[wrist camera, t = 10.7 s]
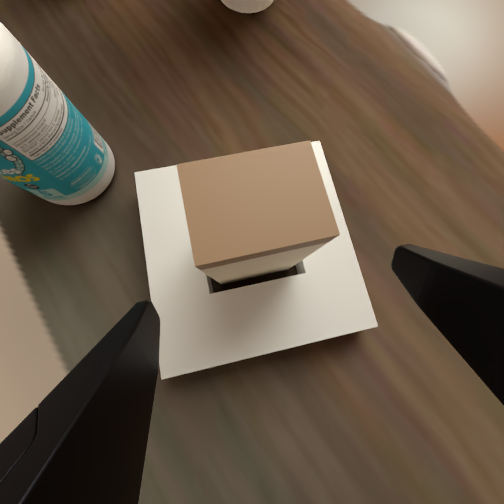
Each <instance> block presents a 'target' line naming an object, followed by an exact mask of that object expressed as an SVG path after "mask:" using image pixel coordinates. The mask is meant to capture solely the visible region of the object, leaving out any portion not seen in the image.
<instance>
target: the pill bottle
mask: <svg viewBox="0 0 504 504" xmlns="http://www.w3.org/2000/svg"><path fill="white" fill-rule="evenodd" d="M114 170H115V160H114V156H113V153H112V151H111V149H110V147H109V146H108V144H107V143H106V142H105V141H104V139H103V138H102V137H101V136H100V135H99V134H98V133H97V131H96V130H95V129H94V128H93V127H92V126H91V124H90V123H89V122H88V121H87V120H86V119H85V118H84V117H83V115H82V114H81V113H80V112H79V111H78V110H77V109H76V107H75V106H74V105H73V104H72V103H71V102H70V100H69V99H68V98H67V97H66V96H65V95H64V94H63V92H62V91H61V90H60V89H59V88H58V87H57V85H56V84H55V83H54V82H53V81H52V80H51V79H50V77H49V76H48V75H47V74H46V73H45V72H44V71H43V69H42V68H41V67H40V66H39V65H38V64H37V62H36V61H35V60H34V59H33V58H32V57H31V55H30V54H29V53H28V52H27V51H26V50H25V49H24V47H23V46H22V45H21V44H20V43H19V42H18V41H17V39H16V38H15V37H14V36H13V35H12V34H11V33H10V32H9V30H8V29H7V28H6V27H5V26H4V25H3V24H2V23H1V22H0V178H2V179H4V180H6V181H8V182H10V183H12V184H14V185H16V186H18V187H20V188H23V189H25V190H26V191H29V192H31V193H33V194H34V195H37V196H39V197H41V198H43V199H45V200H47V201H49V202H52V203H55V204H61V205H77V204H82V203H85V202H88V201H90V200H92V199H94V198H96V197H97V196H99V195H100V194H101V193H102V192H103V191H104V190H105V189H106V188H107V187H108V185H109V184H110V182H111V180H112V178H113V175H114Z"/></svg>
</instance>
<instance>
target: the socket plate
mask: <svg viewBox="0 0 504 504" xmlns="http://www.w3.org/2000/svg"><path fill="white" fill-rule="evenodd" d="M311 145H312V148H313V151H314V154H315V157H316V160H317V164H318V167H319V170H320V173H321V176H322V179H323V182H324V186H325V189H326V192H327V195H328V198H329V201H330V205H331V208H332V211H333V214H334V217H335V220H336V223H337V227H338V230H339V233H340V235H339V236H337V237H336V238H334V239H333V240H331V241H330V242H328V243H327V244H325V245H324V246H322V247H321V248H319V249H318V250H316V251H315V252H313V253H312V254H310V255H309V256H307V257H306V258H305V259H303V260H302V261H300V262H299V263H297V264H296V265H295V266H296V269H297V273H298V275H294V276H289V277H285V278H280V279H276V280H271V281H267V282H262V283H258V284H253V285H248V286H244V287H239V288H235V289H230V290H226V291H221V292H217V293H213V287H212V282H211V277H210V276H208V275H207V274H205V273H204V272H202V271H201V270H199V269H198V268H197V267H195V264H194V259H193V253H192V248H191V242H190V237H189V231H188V226H187V220H186V215H185V209H184V204H183V198H182V193H181V187H180V182H179V176H178V171H177V165H175V166H170V167H164V168H158V169H152V170H146V171H140V172H135V180H136V188H137V195H138V203H139V211H140V219H141V226H142V234H143V242H144V250H145V257H146V265H147V273H148V280H149V288H150V296H151V302H152V303H153V305H154V307H155V309H156V311H157V313H158V315H159V317H160V347H159V365H160V373H161V380H162V379H166V378H170V377H174V376H178V375H182V374H186V373H190V372H195V371H199V370H203V369H207V368H211V367H215V366H219V365H223V364H227V363H231V362H235V361H239V360H243V359H247V358H252V357H256V356H260V355H264V354H268V353H272V352H276V351H280V350H284V349H288V348H292V347H296V346H300V345H304V344H308V343H313V342H317V341H321V340H325V339H329V338H333V337H337V336H341V335H345V334H349V333H353V332H357V331H361V330H365V329H370V328H374V327H378V325H377V321H376V318H375V315H374V312H373V309H372V306H371V302H370V299H369V296H368V293H367V290H366V287H365V283H364V280H363V277H362V274H361V271H360V267H359V264H358V261H357V258H356V255H355V252H354V248H353V245H352V242H351V239H350V236H349V232H348V229H347V226H346V223H345V220H344V217H343V213H342V210H341V207H340V204H339V201H338V198H337V194H336V191H335V188H334V185H333V182H332V178H331V175H330V172H329V169H328V166H327V163H326V159H325V156H324V153H323V150H322V147H321V144H320V141H315V142H311Z"/></svg>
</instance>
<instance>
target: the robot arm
mask: <svg viewBox="0 0 504 504" xmlns="http://www.w3.org/2000/svg"><path fill="white" fill-rule="evenodd" d="M391 267H392V270H393V272H394V273H395V274H396V276H397V277H398V279H399V280H400V281H401V283H402V284H403V286H404V287H405V289H406V290H407V291H408V293H409V294H410V296H411V297H412V298H413V300H414V301H415V303H416V304H417V305H418V306H419V307H420V309H421V310H422V311H423V312H424V313H425V315H426V316H427V317H428V318H429V319H430V320H431V322H432V323H433V324H434V325H435V326H436V327H437V328H438V330H439V331H440V332H441V333H442V334H443V335H444V337H445V338H446V339H447V340H448V341H449V342H450V344H451V345H452V346H453V347H454V348H455V349H456V351H457V352H458V353H459V354H460V355H461V356H462V358H463V359H464V360H465V361H466V362H467V363H468V365H469V366H470V367H471V368H472V369H473V370H474V371H475V373H476V374H477V375H478V376H479V377H480V378H481V380H482V381H483V382H484V383H485V384H486V385H487V387H488V388H489V389H490V390H491V391H492V392H493V394H494V395H495V396H496V397H497V398H498V399H499V401H500V402H501V403H502V404H503V405H504V269H503V268H499V267H495V266H491V265H488V264H484V263H480V262H476V261H472V260H468V259H464V258H461V257H457V256H453V255H449V254H445V253H441V252H438V251H434V250H430V249H426V248H422V247H418V246H414V245H411V244H406V245H401V246H398V247H396V249H395V251H394V255H393V259H392V263H391ZM159 347H160V317H159V315H158V313H157V311H156V309H155V307H154V305H153V303H152V302H151V301H150V300H146V301H142V302H138V303H136V304H135V305H134V306H133V307H132V308H131V309H130V310H129V311H128V312H127V314H126V315H125V316H124V317H123V318H122V319H121V320H120V321H119V322H118V323H117V324H116V325H115V326H114V327H113V328H112V329H111V330H110V331H109V332H108V333H107V334H106V335H105V336H104V337H103V338H102V339H101V340H100V341H99V343H98V344H97V345H96V346H95V347H94V348H93V349H92V350H91V351H90V352H89V353H88V354H87V355H86V356H85V357H84V358H83V359H82V360H81V361H80V362H79V363H78V364H77V365H76V366H75V367H74V368H73V369H72V370H71V372H70V373H69V374H68V375H67V376H66V377H65V378H64V379H63V380H62V381H61V382H60V383H59V384H58V385H57V386H56V387H55V388H54V389H53V390H52V391H51V392H50V393H49V394H48V395H47V396H46V397H45V398H44V400H42V402H41V403H40V404H39V405H38V407H37V408H35V409H34V410H33V411H32V412H31V413H30V414H29V415H28V416H27V417H26V418H25V419H24V420H23V421H22V422H21V423H20V424H19V425H18V426H17V427H16V428H15V429H14V430H13V431H12V432H11V433H10V434H9V435H8V436H7V437H6V438H5V439H4V440H3V441H2V442H1V443H0V504H138V501H139V494H140V487H141V481H142V474H143V467H144V461H145V454H146V447H147V441H148V434H149V427H150V421H151V414H152V407H153V401H154V394H155V388H156V381H157V374H158V366H159Z"/></svg>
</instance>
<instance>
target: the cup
mask: <svg viewBox="0 0 504 504" xmlns="http://www.w3.org/2000/svg"><path fill="white" fill-rule="evenodd" d="M221 1H222V3H223V4H224V5H226V6H227V7H228V8H230V9H232V10H234V11H237V12H241V13H256V12H259V11H262V10H265V9H266V8H267V7H269V6H270V5H271V4H272V2H273V1H274V0H221Z"/></svg>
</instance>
